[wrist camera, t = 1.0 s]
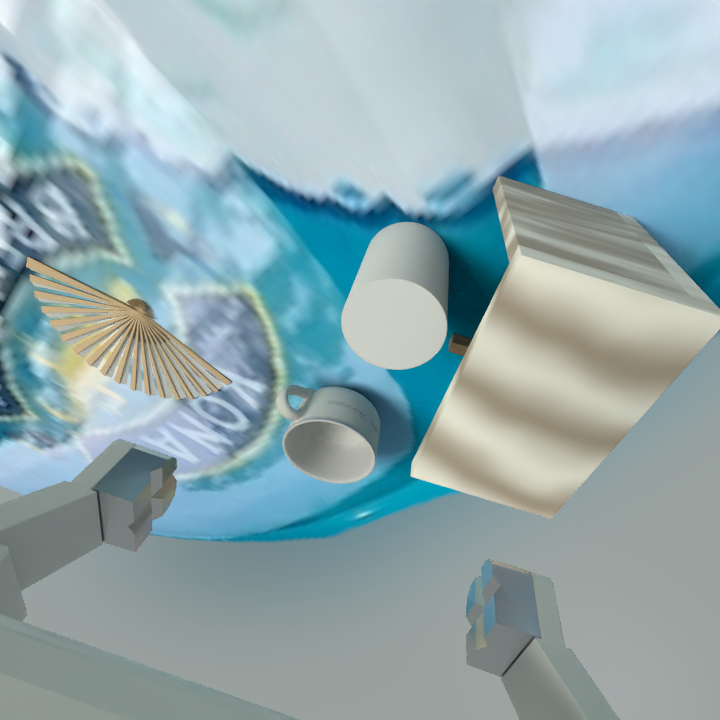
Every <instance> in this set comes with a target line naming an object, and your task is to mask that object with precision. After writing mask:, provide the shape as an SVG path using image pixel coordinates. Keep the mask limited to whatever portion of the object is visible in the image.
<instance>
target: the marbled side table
mask: <svg viewBox="0 0 720 720" xmlns="http://www.w3.org/2000/svg"><path fill="white" fill-rule="evenodd" d="M493 193H494V197H495V201H496V206H497V210H498V215H499V219H500V223H501V228H502V233H503V237H504V241H505V245H506V250H507V254H508V259H509V265H508V267H507V269H506V272H505V274H504V276H503V278H502V280H501V282H500V284H499V286H498V288H497V290H496V292H495V294H494V296H493V298H492V300H491V302H490V304H489V306H488V308H487V310H486V312H485V314H484V316H483V318H482V321H481V323H480V325H479V327H478V329H477V331H476V333H475V335H474V337H473V339H471V338H467V337H464V336H461V335H458V334H454V333H453V334H452V336H451V339H450V341H449V352H452V353H455V354H459V355H462V356H464V357H463V359H462V361H461V363H460V365H459V367H458V369H457V372H456V374H455V376H454V378H453V380H452V382H451V384H450V386H449V388H448V390H447V392H446V394H445V396H444V398H443V400H442V402H441V404H440V406H439V408H438V410H437V412H436V414H435V416H434V418H433V421H432V423H431V425H430V427H429V429H428V431H427V433H426V435H425V437H424V439H423V441H422V443H421V445H420V447H419V449H418V451H417V453H416V455H415V457H414V459H413V461H412V467H411V477H414V478H418V479H421V480H424V481H428V482H431V483H434V484H438V485H441V486H444V487H448V488H451V489H454V490H457V491H461V492H464V493H467V494H471V495H474V496H477V497H481V498H484V499H488V500H491V501H494V502H497V503H501V504H504V505H507V506H510V507H514V508H517V509H520V510H524V511H527V512H531V513H534V514H537V515H540V516H544V517H547V518H550V519H551V518H552V517H553V516H554V515H555V514H556V513H557V512H558V510H559V509H560V508H561V507H562V506H563V505H564V504H565V503H566V501H567V500H568V499H569V498H570V497H571V496H572V495H573V494H574V492H575V491H576V490H577V489H578V488H579V487H580V485H582V483H583V482H584V481H585V480H586V479H587V478H588V477H589V476H590V474H591V473H592V472H593V471H594V470H595V469H596V467H598V465H599V464H600V463H601V462H602V461H603V460H604V459H605V458H606V456H607V455H608V454H609V453H610V452H611V451H612V450H613V449H614V448H615V446H616V445H617V444H618V443H619V442H620V441H621V439H622V438H623V437H624V436H625V435H626V434H627V433H628V432H629V431H630V430H631V428H632V427H633V426H634V425H635V424H636V423H637V422H638V420H639V419H640V418H641V417H642V416H643V415H644V414H645V413H646V412H647V410H648V409H649V408H650V407H651V406H652V405H653V404H654V403H655V401H656V400H657V399H658V398H659V397H660V396H661V395H662V394H663V392H664V391H665V390H666V389H667V388H668V387H669V386H670V384H671V383H672V382H673V381H674V380H675V379H676V378H677V377H678V376H679V374H680V373H681V372H682V371H683V370H684V369H685V368H686V367H687V365H688V364H689V363H690V362H691V361H692V360H693V359H694V358H695V356H696V355H697V354H698V353H699V352H700V351H701V349H702V348H703V347H704V346H705V345H706V344H707V343H708V342H709V341H710V340H711V338H712V337H713V336H714V335H715V334H716V333H717V332H718V331H719V329H720V309H719V308H718V307H717V306H716V305H715V303H714V302H713V301H712V300H711V299H710V298H709V297H708V296H707V295H706V294H705V293H704V292H703V291H702V290H701V289H700V288H699V286H698V285H697V284H696V283H695V282H694V281H693V280H692V279H691V278H690V277H689V276H688V275H687V274H686V273H685V272H684V270H683V269H682V268H681V267H680V266H679V265H678V264H677V263H676V262H675V261H674V260H673V259H672V258H671V257H670V256H669V255H668V253H667V252H666V251H665V250H664V249H663V248H662V247H661V246H660V245H659V244H658V243H657V242H656V241H655V240H654V239H653V237H652V236H651V235H650V234H649V233H648V232H647V231H646V230H645V229H644V228H643V227H642V226H641V225H640V224H639V223H638V222H637V220H636V219H635V218H634V217H631V216H628V215H625V214H621V213H618V212H615V211H612V210H608V209H605V208H602V207H599V206H596V205H592V204H589V203H586V202H583V201H579V200H576V199H573V198H570V197H567V196H563V195H560V194H557V193H554V192H550V191H547V190H544V189H541V188H537V187H534V186H531V185H528V184H525V183H521V182H518V181H515V180H512V179H508V178H505V177H502V176H498V178H497V181H496V183H495V185H494V188H493Z"/></svg>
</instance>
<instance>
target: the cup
mask: <svg viewBox="0 0 720 720" xmlns="http://www.w3.org/2000/svg"><path fill="white" fill-rule="evenodd" d="M448 282H449V255H448V251H447V248H446V246H445V244H444V242H443V240H442V239H441V238H440V237H439V235H438V234H437V233H435V232H434V231H433V230H431V229H430V228H428V227H426V226H424V225H422V224H418V223H413V222H400V223H396V224H392V225H390V226H388V227H386V228H384V229H382V230H381V231H380V232H379V233H377V234H376V236H375V237H374V238H373V239H372V241H371V242H370V244H369V247H368V249H367V251H366V254H365V256H364V259H363V261H362V264H361V266H360V269H359V271H358V274H357V276H356V279H355V281H354V284H353V286H352V289H351V291H350V294H349V296H348V299H347V301H346V304H345V306H344V309H343V312H342V318H341V325H342V331H343V334H344V337H345V339H346V341H347V343H348V345H349V346H350V347H351V349H352V350H353V351H354V352H355V353H356V354H357V355H358V356H359V357H361V358H362V359H364V360H365V361H367V362H369V363H371V364H373V365H375V366H378V367H381V368H386V369H394V370H401V369H409V368H413V367H416V366H419V365H421V364H423V363H425V362H427V361H428V360H430V359H431V358H432V357H434V356H435V355H436V354H437V352H438V351H439V350H440V348H441V347H442V345H443V343H444V341H445V338H446V334H447V314H448Z"/></svg>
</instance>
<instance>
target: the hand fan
mask: <svg viewBox="0 0 720 720" xmlns="http://www.w3.org/2000/svg"><path fill="white" fill-rule="evenodd" d="M26 267H28V268H30V269H31V270H33V271H36V272H39V273H42V274H44V275H47V276H50V277H52V278H55V279H57V280H59V281H62V282H64V283H67V284H69V285H72V286H74V287H77V288H79V289H81V290H84V291H86V292H89V293H91V294H93V295H91V294H88V293H85V292H82V291H79V290H76V289H73V288H70V287H67V286H64V285H61V284H58V283H55V282H52V281H49V280H46V279H43V278H40V277H37V276H34V275H31V274H30V281H31V282H32V283H33V285H34V286H38V287H43V288H47V289H52V290H57V291H62V292H67V293H70V294H74V295H77V296H81V297H85V298H90V299H94V300H98V301H101V302H105V303H108V304H112V305H115V306H111V305H106V304H101V303H96V302H91V301H86V300H81V299H76V298H71V297H66V296H60V295H55V294H50V293H45V292H40V291H35V290H34V291H35V297H36V298H38V300H39V301H40V302H50V303H68V304H76V305H84V306H96V307H104V308H105V307H106V308H113V309H119V310H108V309H90V308H71V307H52V306H41V308H42V312H43V313H45V314H46V315H47V316H48V317H49V318H50V317H60V316H69V315H87V314H96V313H107V312H128V313H119V314H109V315H99V316H90V317H80V318H70V319H60V320H50V323H51V326H52V327H54V328H55V329H56V330H57V331H59V332H60V331H64V330H67V329H70V328H73V327H77V326H80V325H84V324H89V323H94V322H97V321H101V320H105V319H111V318H110V317H115V316H121V315H126V314H129V315H126V316H123V317H119V318H116V319H113V320H110V321H106V322H103V323H100V324H96V325H93V326H90V327H87V328H83V329H80V330H77V331H73V332H70V333H67V334H63V335H60V336H61V338H62V340H63V342H64V341H65V342H67V343H68V344H70V345H73V344H74V343H76V342H78V341H80V340H82V339H83V338H85V337H87V336H89V335H91V334H93V333H95V332H98V331H100V330H102V329H104V328H106V327H108V326H110V325H112V324H115V323H113V322H116V321H119V320H121V319H124V318H126V317H128V318H127V319H125V320H123V321H121V322H119V323H118V324H116V325H114V326H112V327H110V328H109V329H107V330H105V331H103V332H101V333H100V334H98V335H96V336H94V337H93V338H91V339H89V340H87V341H85V342H84V343H82V344H80V345H78V346H76V347H75V348H73V350H74V352H75V353H76V354H78V355H80V356H82V357H85V356H86V355H87V354H88V353H89V352H90V351H91V350H92V349H93V348H94V347H95V346H97V345H98V344H99V343H101V342H102V341H103V340H105V339H106V338H108V337H109V336H110V335H111V334H112V333H113V332H114V331H116V330H117V329H119V326H120V325H122V324H123V323H125V322H126V321H128V320H129V319H130V320H129V321H128V322H127V323H126V324H125V325H124V326H123V327H122V328H121V329H120V330H119V331H118V332H117V333H115V334H114V335H113V336H112V337H111V338H110V339H109V340H108V341H107V342H106V343H105V344H104V345H103V346H102V347H100V348H99V349H98V350H97V351H96V352H95V353H94V354H93V355H92V356H91V357H90V358H89V359H88V360H87V363H88V364H89V365H90V366H91V365H92V366H94V367H96V368H97V367H98V366H99V364H100V363H101V361H102V359H103V358H104V356H105V355H106V354H107V353H108V351H109V350H110V349H111V348H112V347H113V346H114V345H115V343H116V342H117V341H118V339H119V338H120V336H121V335H122V334H123V333H124V332H123V331H124V330H125V329H126V327H127V326H128V325H129V324H130V323H131V322H132V323H131V324H130V326H129V328H128V329H127V331H126V332H125V334H124V335H123V337H122V338H121V340H120V341H119V343H118V345H117V346H116V348H115V349H114V351H113V352H112V354H111V355H110V357H109V358H108V360H107V362H106V363H105V365H104V366H103V368H102V369H101V371H100V372H101V373H102V374H103V375H104V376H105V375H106V376H109V377H112V376H113V373H114V370H115V367H116V365H117V362H118V360H119V358H120V356H121V354H122V352H123V350H124V347H125V344H126V342H127V340H128V338H129V340H128V343H127V346H126V349H125V351H124V354H123V357H122V360H121V363H120V365H119V368H118V371H117V374H116V376H115V379H114V380H115V381H116V382H117V383H118V384H119V383H121V384H125V385H127V378H128V370H129V365H130V361H131V357H132V353H133V345H134V341H135V349H134V358H133V366H132V375H131V384H130V388H132V389H133V390H134V391H135V390H139V391H142V379H141V348H142V361H143V373H144V386H145V393H146V394H148V395H149V396H150V394H151V395H157V392H156V387H155V383H154V379H153V375H152V369H151V363H152V367H153V371H154V375H155V379H156V383H157V387H158V390H159V394H160V397H162V398H164V399H165V397H166V398H169V397H172V395H171V393H170V390H169V388H168V385H167V383H166V380H165V378H164V375H163V372H162V369H163V371H164V374H165V376H166V378H167V381H168V383H169V385H170V388H171V390H172V393H173V395H174V397H175V399H178V400H180V399H182V398H186V395H185V393H184V392H183V390H182V388H181V386H180V385H179V383H178V381H177V379H178V380H179V382H180V384H181V385H182V387H183V389H184V391H185V392H186V394H187V396H188V397H189V398H190V399H193V398H195V397H198V396H200V395H199V394H198V392H197V391H196V390H195V388H194V387H193V385H192V384H191V383H190V381H189V380H188V379H187V377H186V376H185V375H184V373H183V372H182V370H183V371H184V372H185V374H186V375H187V376H188V377H189V379H190V380H191V381H192V383H193V384H194V385H195V387H196V388H197V389H198V391H199V392H200V393H201V394H202V396H207V395H208V394H210V393H211V391H210V389H209V388H208V387H207V386H206V385H205V384H204V383H203V382H202V381H201V380H200V379H199V378H198V377H197V375H196V374H195V373H194V372H193V371H192V370H191V369H190V367H191V368H192V369H193V370H194V371H195V372H196V373H197V374H198V375H199V376H200V377H201V378H202V379H203V380H204V381H205V382H206V383H207V384H208V385H209V386H210V388H211V389H212V390H213V391H214V392H217V391H218V390H219V389H221V388H222V387H223V385H222V384H221V383H220V382H218V381H217V380H216V379H215V378H214V377H213V376H211V375H210V374H209V373H208V372H207V371H206V370H205V369H203V368H202V367H201V366H200V365H199V364H198V363H197V362H196V361H198V362H199V363H200V364H201V365H202V366H204V367H205V368H206V369H207V370H208V371H209V372H211V373H212V374H213V375H214V376H215V377H217V378H218V379H219V380H221V381H222V382H223V383H224V384H226V385H228V384H229V383H231V381H230V380H228V379H227V378H226V377H224V376H223V375H222V374H221V373H220V372H218V371H217V370H216V369H215V368H213V367H212V366H211V365H210V364H208V363H207V362H206V361H205V360H203V359H202V358H201V357H200V356H199V355H197V354H196V353H195V352H194V351H192V350H191V349H190V348H188V347H187V346H186V345H185V344H183V343H182V342H181V341H179V340H178V339H177V338H176V337H174V336H173V335H172V334H170V333H169V332H168V331H166V330H165V329H164V328H163V327H161V326H160V325H159V324H157V323H156V322H155V321H154V320H152V319H155V318H153V317H151V316H154V315H151V314H152V313H147V312H148V311H150V310H147V309H146V308H148V307H149V306H148V307H146V306H147V305H148V304H147V305H145V304H146V303H144V301H143V302H142V300H141V301H140V299H139V300H138V299H131V300H130V301H129V300H128V301H127V302H128V303H129V304H130V305H131V306H133V307H134V308H135V309H134V308H132V307H130V306H128V305H126V304H124V303H122V302H120V301H118V300H116V299H114V298H112V297H110V296H108V295H106V294H103V293H101V292H99V291H97V290H95V289H93V288H91V287H89V286H87V285H85V284H83V283H81V282H79V281H77V280H75V279H73V278H71V277H69V276H67V275H65V274H62V273H60V272H58V271H56V270H54V269H52V268H50V267H48V266H46V265H44V264H42V263H40V262H38V261H36V260H34V259H32V258H30V257H28V259H27V264H26ZM94 295H96V296H94ZM97 296H98V297H97ZM100 297H101V298H100ZM116 306H119V307H116ZM145 307H146V308H145ZM145 309H146V310H147V311H145ZM149 309H150V308H149ZM132 313H133V314H132ZM149 315H150V316H149ZM129 316H130V317H129ZM132 317H133V318H132ZM133 325H134V326H133ZM132 327H133V329H132ZM136 327H137V331H136V340H135V338H134V339H133V337H134V334H135V330H136ZM158 328H159V329H160V330H161V331H162V332H163V333H164V334H166V335H167V336H168V337H169V338H170V340H169V339H168V338H167V337H166V336H165V335H164V334H163V333H162V332H161V331H160V330H159V329H158ZM131 329H132V332H131V335H130V337H129V335H128V334H129V332H130V331H131ZM143 331H144V334H143ZM150 332H151V333H150ZM147 333H148V334H147ZM154 333H155V334H156V335H155V334H154ZM158 333H159V334H160V335H161V336H162V337H163V338H164V339H165V340H166V341H167V342H165V341H164V340H163V339H162V338H161V336H160V335H159V334H158ZM139 334H140V336H141V341H139ZM151 334H152V335H151ZM144 335H145V339H146V343H144ZM148 335H149V338H150V340H151V343H152V344H150V342H149V338H148ZM152 336H153V337H152ZM156 336H157V337H158V338H159V340H160V341H161V342H162V343H160V342H159V340H158V339H157V337H156ZM153 338H154V339H155V341H156V343H157V344H155V342H154V340H153ZM177 344H178V345H179V346H180V347H181V348H182V349H183V350H182V349H181V348H180V347H179V346H178V345H177ZM147 347H148V348H147ZM184 350H185V351H186V352H187V353H188V354H189V355H191V356H192V357H193V358H194V359H195V360H196V361H195V360H194V359H193V358H192V357H190V356H189V355H188V354H187V353H186V352H185V351H184ZM148 351H149V353H148ZM168 351H169V352H168ZM155 352H156V353H155ZM156 354H157V355H156ZM149 355H150V357H149ZM171 355H172V356H171ZM164 356H165V357H164ZM180 356H181V357H182V358H183V359H184V360H185V361H186V362H187V363H188V364H189V366H190V367H189V366H188V365H187V364H186V362H185V361H184V360H183V359H182V358H181V357H180ZM157 357H158V358H157ZM165 358H166V359H165ZM173 358H174V359H175V360H176V361H175V360H174V359H173ZM150 359H151V362H150ZM158 359H159V360H158ZM159 362H160V363H159ZM176 362H177V363H178V364H179V366H180V367H181V368H182V370H181V369H180V367H179V366H178V364H177V363H176ZM168 363H169V364H168ZM160 364H161V366H162V369H161V366H160ZM169 365H170V366H169ZM170 367H171V368H172V370H173V372H174V373H175V375H176V377H177V379H176V378H175V376H174V374H173V372H172V370H171V368H170ZM179 398H180V399H179Z"/></svg>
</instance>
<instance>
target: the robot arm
mask: <svg viewBox="0 0 720 720" xmlns="http://www.w3.org/2000/svg"><path fill="white" fill-rule="evenodd" d="M176 468H177V460H176V458H174V457H171V456H168V455H166V454H163V453H160V452H157V451H154V450H152V449H149V448H146V447H143V446H140V445H137V444H134V443H131V442H128V441H125V440H122V439H118V440H116V441H114V442H112V443H111V444H110V445H109V446H108V447H107V448H106V449H105V450H104V451H103V452H102V453H101V454H100V455H99V456H98V457H97V458H96V459H95V460H94V461H92V462H91V463H90V464H89V465H88V466H87V467H86V468H85V469H84V470H83V471H82V472H81V473H80V474H79V475H78V476H77V477H76V478H75V479H74V480H73V481H72V482H66V481H63V482H61V483H58V484H55V485H52V486H50V487H47V488H44V489H41V490H39V491H36V492H33V493H30V494H28V495H25V496H22V497H19V498H17V499H14V500H11V501H8V502H6V503H3V504H0V720H299V719H296V718H293V717H291V716H288V715H285V714H282V713H280V712H277V711H274V710H271V709H268V708H265V707H263V706H260V705H257V704H254V703H251V702H248V701H246V700H243V699H240V698H237V697H234V696H232V695H229V694H226V693H223V692H220V691H217V690H215V689H212V688H209V687H206V686H203V685H201V684H198V683H195V682H192V681H189V680H186V679H184V678H181V677H178V676H175V675H172V674H169V673H167V672H164V671H161V670H158V669H155V668H152V667H150V666H147V665H144V664H141V663H138V662H136V661H133V660H130V659H127V658H124V657H121V656H118V655H116V654H113V653H110V652H107V651H104V650H102V649H99V648H96V647H93V646H90V645H87V644H85V643H81V642H79V641H76V640H73V639H70V638H68V637H65V636H62V635H59V634H56V633H53V632H51V631H48V630H45V629H42V628H39V627H36V626H33V625H31V624H28V623H25V622H22V621H23V620H24V618H25V617H26V616H27V614H26V607H25V603H24V600H23V597H22V593H21V591H22V590H24V589H25V588H27V587H29V586H31V585H32V584H34V583H36V582H38V581H39V580H41V579H43V578H45V577H46V576H48V575H50V574H51V573H53V572H55V571H57V570H59V569H60V568H62V567H64V566H65V565H67V564H69V563H71V562H72V561H74V560H76V559H77V558H79V557H81V556H83V555H85V554H86V553H88V552H90V551H92V550H93V549H95V548H97V547H98V546H100V545H102V544H103V543H102V542H105V543H108V544H111V545H114V546H118V547H121V548H124V549H127V550H130V551H134V552H136V551H137V550H138V548H139V547H140V546H141V544H142V543H143V542H144V540H145V539H146V538H147V536H148V535H149V533H150V532H151V531H152V521H153V520H155V519H157V518H159V517H161V516H163V514H164V513H165V512H166V510H167V509H168V507H169V506H170V503H171V501H172V499H173V497H174V495H175V490H176V482H177V480H176V479H175V477H174V476H173V474H172V473H173V472H174V471H175V470H176ZM466 617H467V619H468V621H469V622H470V624H471V626H472V627H471V629H470V631H469V632H468V634H467V635H466V641H467V642H466V649H467V664H468V665H470V666H473V667H476V668H479V669H481V670H484V671H486V672H489V673H492V674H494V675H497V676H500V677H502V682H503V684H504V686H505V689H506V691H507V693H508V695H509V697H510V699H511V702H512V704H513V706H514V708H515V710H516V712H517V715H518V717H519V719H520V720H620V719H619V718H618V717H617V715H616V714H615V712H614V711H613V709H612V708H611V706H610V705H609V703H608V702H607V700H606V699H605V697H604V696H603V695H602V693H601V692H600V691H599V689H598V687H597V686H596V684H595V683H594V682H593V680H592V679H591V677H590V676H589V674H588V673H587V671H586V670H585V669H584V667H583V665H582V664H581V663H580V661H579V660H578V658H577V657H576V655H575V654H574V652H573V651H572V650H571V649H569V648H566V647H565V644H564V638H563V634H562V628H561V623H560V618H559V612H558V607H557V602H556V597H555V591H554V586H553V582H552V581H551V579H550V578H547V577H544V576H541V575H538V574H535V573H532V572H528V571H527V570H524V569H520V568H517V567H514V566H511V565H507V564H504V563H501V562H498V561H494V560H491V559H488V560H486V561H485V563H484V564H483V566H482V576H479V577H476V578H475V579H474V581H473V583H472V585H471V587H470V590H469V594H468V597H467V606H466Z"/></svg>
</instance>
